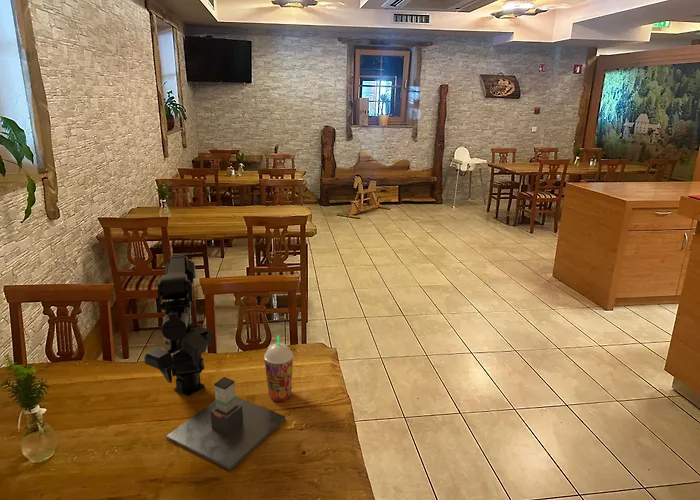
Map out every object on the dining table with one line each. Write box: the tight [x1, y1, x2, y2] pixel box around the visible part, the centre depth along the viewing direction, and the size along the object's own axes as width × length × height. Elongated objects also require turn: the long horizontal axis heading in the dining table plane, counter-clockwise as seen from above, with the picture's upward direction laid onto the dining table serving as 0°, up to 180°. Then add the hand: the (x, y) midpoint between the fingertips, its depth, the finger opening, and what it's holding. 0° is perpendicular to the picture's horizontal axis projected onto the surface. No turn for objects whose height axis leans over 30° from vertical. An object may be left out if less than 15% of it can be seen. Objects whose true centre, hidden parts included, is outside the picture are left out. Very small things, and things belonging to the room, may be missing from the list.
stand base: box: [165, 396, 287, 472], centre depth 128 cm, size 22×22×6 cm
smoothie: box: [263, 335, 294, 402], centre depth 140 cm, size 8×8×20 cm
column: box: [213, 376, 237, 416], centre depth 126 cm, size 4×4×9 cm
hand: (183, 374), depth 130 cm, fingers open, 9 cm apart
